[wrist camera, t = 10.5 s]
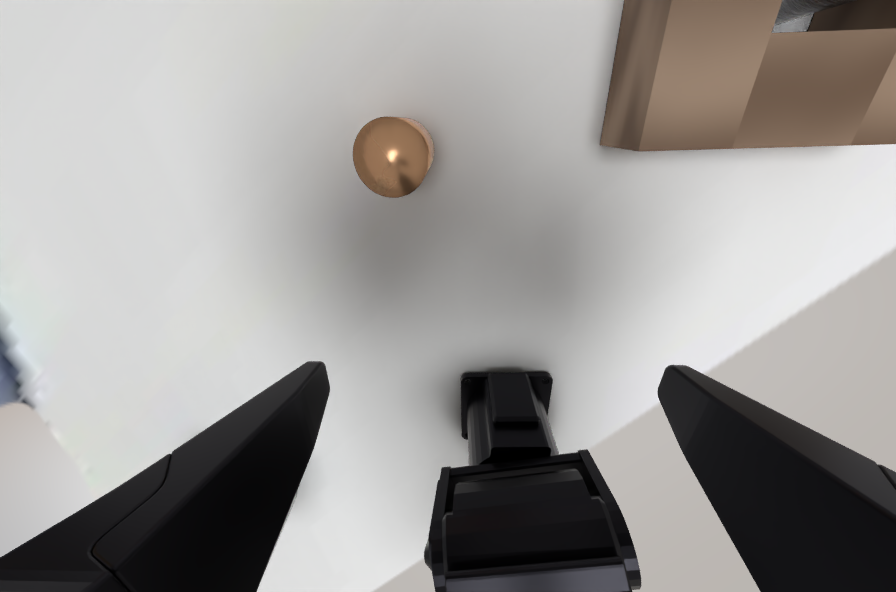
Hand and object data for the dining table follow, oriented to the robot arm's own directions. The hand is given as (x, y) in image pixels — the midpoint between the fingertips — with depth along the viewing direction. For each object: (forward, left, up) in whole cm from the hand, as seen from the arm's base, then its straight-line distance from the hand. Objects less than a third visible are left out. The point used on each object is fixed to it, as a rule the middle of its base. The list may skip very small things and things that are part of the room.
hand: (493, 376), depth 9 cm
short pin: (+5, +4, -12) cm, 13 cm away
